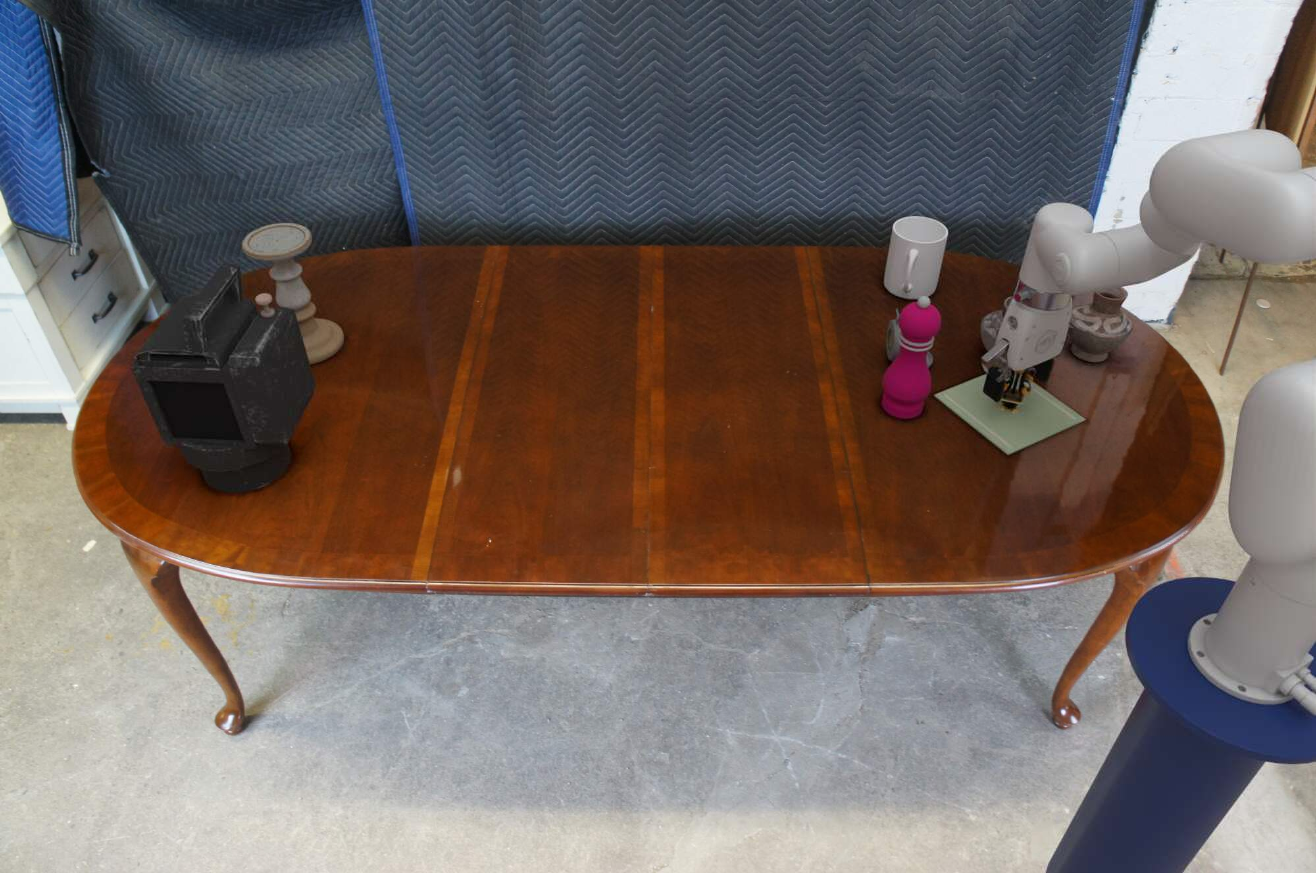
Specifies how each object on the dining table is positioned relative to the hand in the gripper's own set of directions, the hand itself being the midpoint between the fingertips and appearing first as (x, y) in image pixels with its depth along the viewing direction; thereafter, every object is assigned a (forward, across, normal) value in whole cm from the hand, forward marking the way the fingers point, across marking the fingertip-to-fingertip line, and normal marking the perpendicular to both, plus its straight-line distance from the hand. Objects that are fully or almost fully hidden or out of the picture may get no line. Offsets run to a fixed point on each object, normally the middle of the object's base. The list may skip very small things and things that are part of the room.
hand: (1014, 387), depth 149 cm
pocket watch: (+4, -6, +18) cm, 19 cm away
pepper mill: (+4, -14, +9) cm, 17 cm away
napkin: (+4, 0, 0) cm, 4 cm away
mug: (+4, +9, +34) cm, 35 cm away
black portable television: (+4, -104, +45) cm, 113 cm away
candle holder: (+4, -90, +71) cm, 114 cm away
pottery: (+4, +15, +7) cm, 17 cm away
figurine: (+4, 0, 0) cm, 4 cm away
